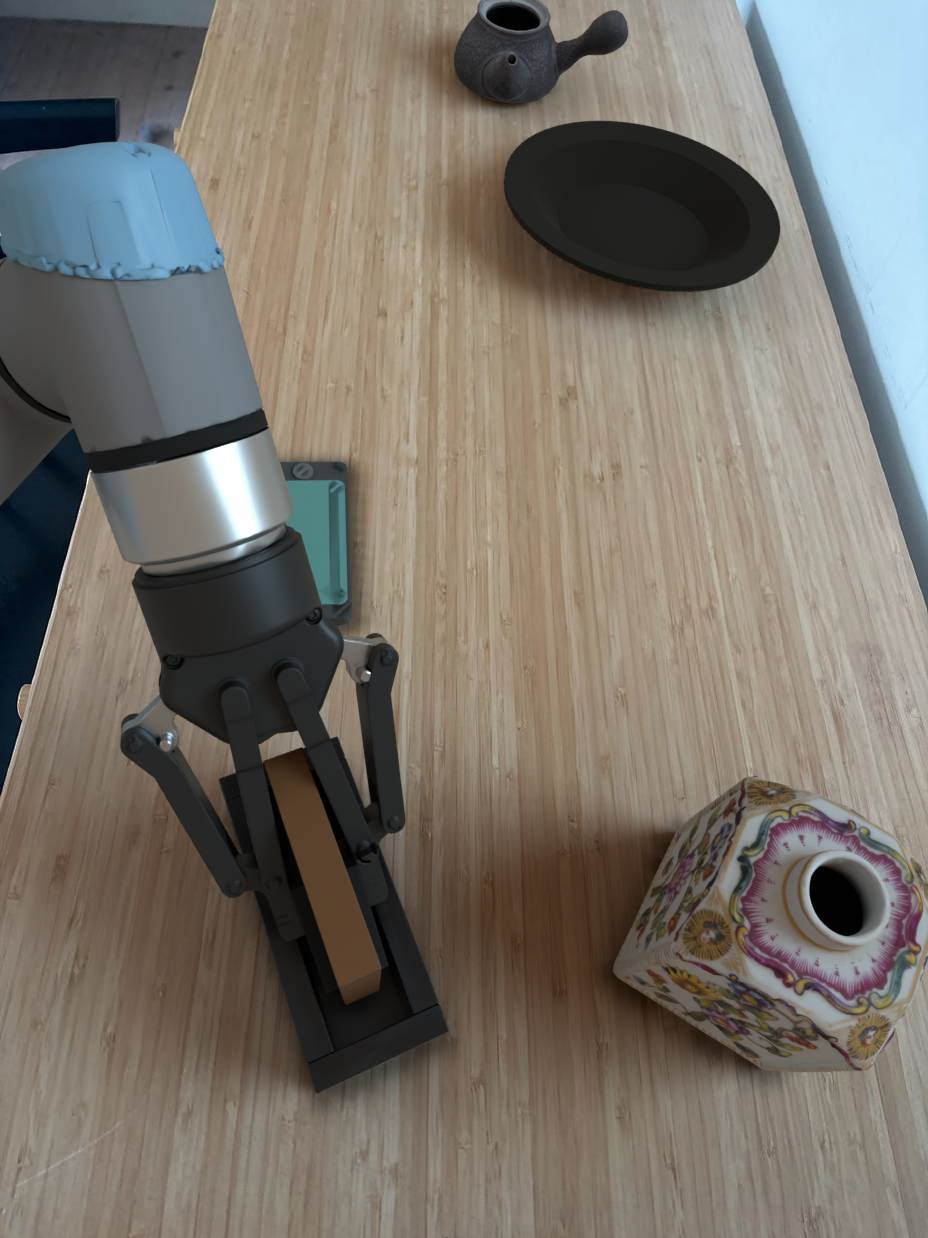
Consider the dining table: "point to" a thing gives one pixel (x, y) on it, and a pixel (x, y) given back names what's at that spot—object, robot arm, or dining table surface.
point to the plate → (641, 206)
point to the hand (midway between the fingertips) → (351, 963)
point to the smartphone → (323, 529)
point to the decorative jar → (783, 929)
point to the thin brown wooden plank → (324, 876)
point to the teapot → (526, 49)
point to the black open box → (323, 1022)
